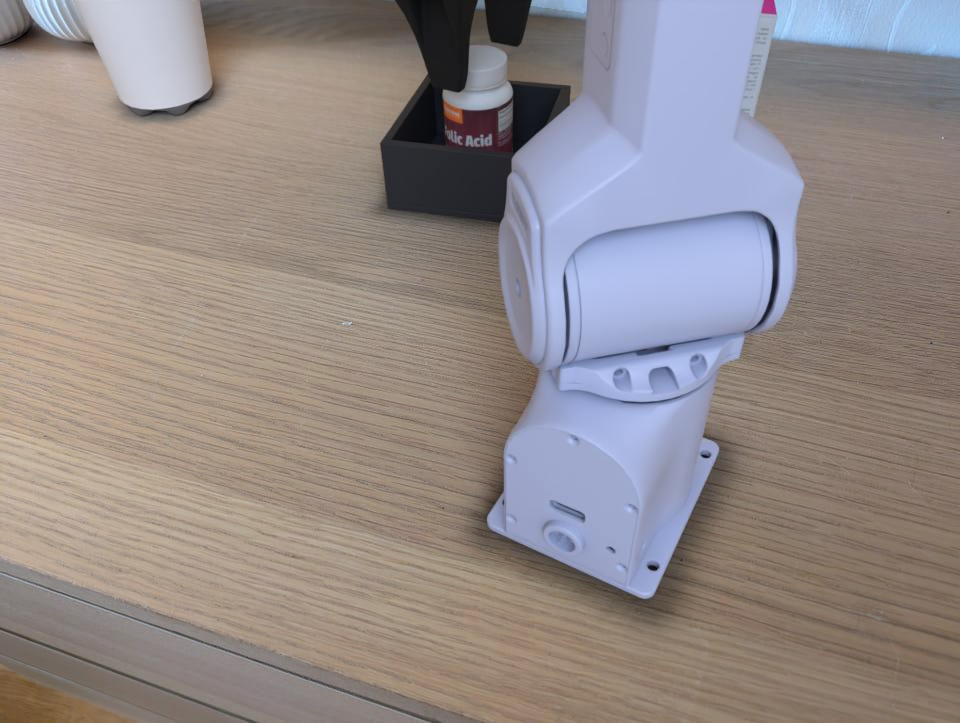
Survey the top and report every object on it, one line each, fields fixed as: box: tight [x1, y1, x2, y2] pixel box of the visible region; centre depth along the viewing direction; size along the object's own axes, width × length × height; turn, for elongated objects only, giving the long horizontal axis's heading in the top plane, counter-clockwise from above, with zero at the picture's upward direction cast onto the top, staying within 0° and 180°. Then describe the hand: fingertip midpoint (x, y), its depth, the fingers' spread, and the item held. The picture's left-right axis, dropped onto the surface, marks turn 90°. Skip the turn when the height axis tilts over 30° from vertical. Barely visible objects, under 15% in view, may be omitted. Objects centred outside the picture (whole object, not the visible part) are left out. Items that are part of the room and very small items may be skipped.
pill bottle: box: [442, 44, 513, 153], centre depth 56 cm, size 5×5×8 cm
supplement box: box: [741, 0, 778, 119], centre depth 57 cm, size 6×6×12 cm
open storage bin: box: [379, 73, 572, 223], centre depth 58 cm, size 11×11×5 cm
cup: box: [73, 0, 213, 117], centre depth 65 cm, size 10×10×13 cm
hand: (478, 64), depth 53 cm, fingers open, 7 cm apart
